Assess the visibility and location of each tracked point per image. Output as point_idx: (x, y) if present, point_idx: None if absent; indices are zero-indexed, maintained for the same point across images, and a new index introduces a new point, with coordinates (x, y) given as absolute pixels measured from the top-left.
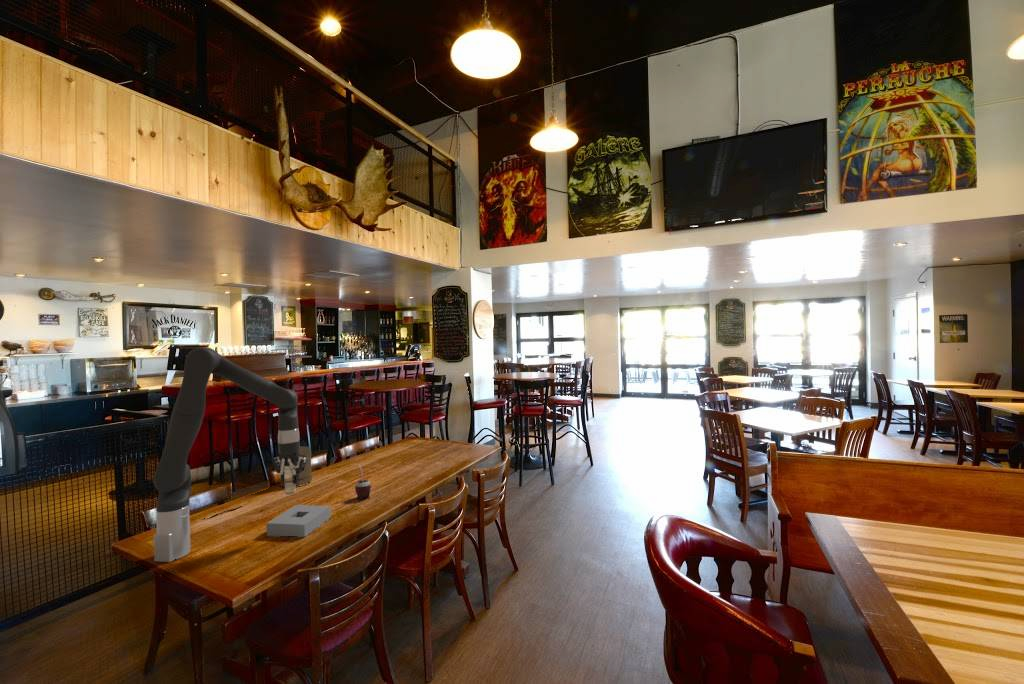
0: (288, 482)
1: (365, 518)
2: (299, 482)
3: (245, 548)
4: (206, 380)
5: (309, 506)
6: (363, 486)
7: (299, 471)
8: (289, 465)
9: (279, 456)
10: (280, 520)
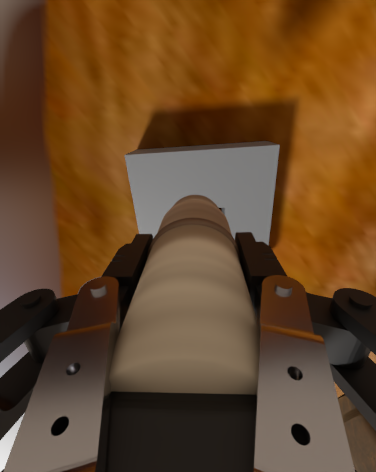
0: (175, 221)
1: (68, 273)
2: (351, 405)
3: (285, 32)
4: None
5: None
6: None
7: (14, 307)
8: (150, 401)
9: None
10: (238, 174)
